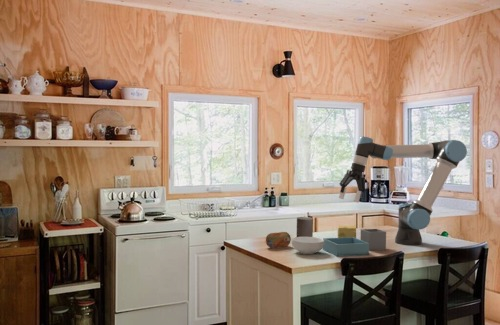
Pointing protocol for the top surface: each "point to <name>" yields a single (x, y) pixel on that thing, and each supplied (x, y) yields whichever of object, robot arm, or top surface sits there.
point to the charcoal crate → (374, 238)
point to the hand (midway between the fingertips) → (348, 200)
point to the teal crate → (346, 246)
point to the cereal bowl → (307, 244)
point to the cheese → (346, 231)
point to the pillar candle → (304, 227)
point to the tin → (278, 240)
